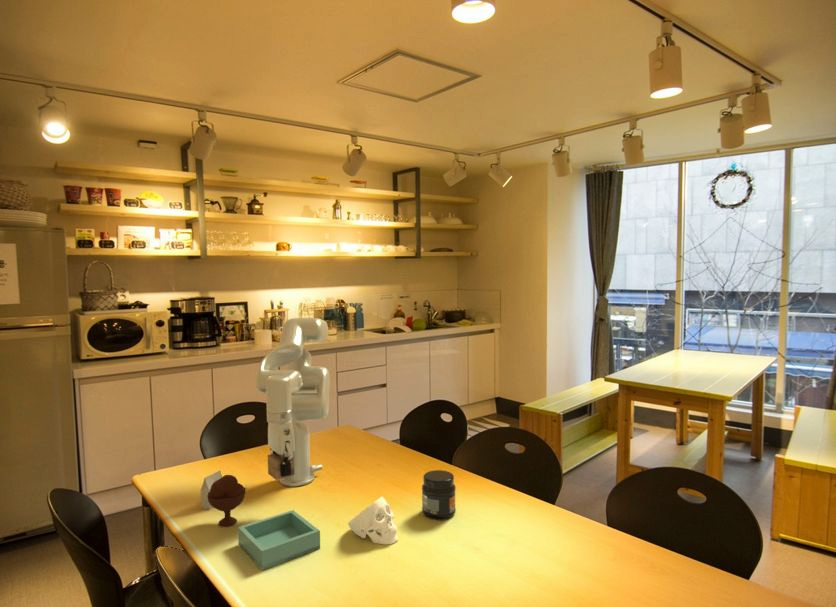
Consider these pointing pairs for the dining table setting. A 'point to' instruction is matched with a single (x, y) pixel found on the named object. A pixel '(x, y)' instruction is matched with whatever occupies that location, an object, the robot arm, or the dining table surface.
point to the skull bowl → (376, 523)
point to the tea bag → (208, 489)
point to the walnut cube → (278, 466)
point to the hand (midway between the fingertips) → (281, 471)
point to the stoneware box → (278, 539)
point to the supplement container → (438, 495)
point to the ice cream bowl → (226, 497)
